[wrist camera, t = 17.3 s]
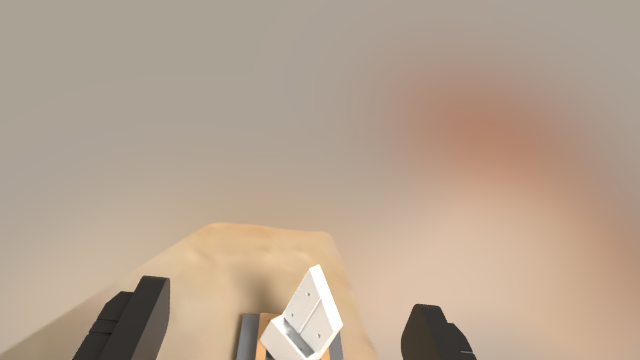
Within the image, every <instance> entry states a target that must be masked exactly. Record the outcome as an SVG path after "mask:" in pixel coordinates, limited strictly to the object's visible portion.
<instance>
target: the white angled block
mask: <svg viewBox="0 0 640 360" xmlns="http://www.w3.org/2000/svg"><path fill="white" fill-rule="evenodd" d="M342 326H343V324H342V321H341V318H340V316H339V313H338V311H337V308H336V306H335V303H334V301H333V298H332V295H331V293H330V290H329V288H328V285H327V283H326V280H325V278H324V275H323V272H322V270H321V267H320V265H316V266H314V267H311V268H309V270H308V271H307V273H306V275H305V276H304V278H303V280H302V281H301V283H300V285H299V287H298V288H297V290H296V292H295V293H294V295H293V297H292V298H291V300H290V302H289V304H288V305H287V307H286V309H285V310H284V312H283V314H282V315H280V316H278V317H276V318H274V319H272V320H271V321H270V322H269V324H268V326H267V328H266V329H265V331H264V333H263V335H262V336H261V338H260V342H261V343H262V344H263V345H264V347H265V348H266V349H267V350H268V352H269V353H270V354H271V355H272V357H273V358H274V359H275V360H320V358H321V357H322V355H323V354H324V352H325V351H326V349H327V348H328V346H329V345H330V343H331V342H332V341H333V339H334V338H335V336H336V335H337V333H338V332H339V330H340V329H341V327H342Z"/></svg>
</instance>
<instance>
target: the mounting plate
mask: <svg viewBox="0 0 640 360" xmlns="http://www.w3.org/2000/svg"><path fill="white" fill-rule="evenodd" d="M280 315H282V314H273V313H262V312H261V313H260V315H254V314H243V320H242V326H241V333H240V339H239V345H238V352H237V358H236V360H275V359H274V358H273V357H272V355H271V354H270V353H269V352H268V350H267V349H266V348H265V347H264V345H263V344H262V343H261V342H260V338H261V336H262V335H263V333H264V331H265V329H266V328H267V326H268V324H269V322H270V321H271V320H272V319H274V318H276V317H278V316H280ZM320 360H343V353H342V345H341V338H340V330H339V332H338V333H337V335H336V336H335V338H334V339H333V341H332V342H331V343H330V345H329V346H328V348H327V349H326V351H325V352H324V354H323V355H322V357H321V358H320Z"/></svg>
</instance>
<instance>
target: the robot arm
mask: <svg viewBox="0 0 640 360" xmlns="http://www.w3.org/2000/svg"><path fill="white" fill-rule="evenodd" d="M169 313H170V279H169V278H164V277H154V276H143V277H142V278H141V280H140V282H139V284H138V286H137V287H136V289H135V291H134V292H124V291H121V292H120V293H118V294H117V295H116V296H115V297H113V298H112V299H111V300H110V301H109V302H107V303H106V304H105V306H104V308H103V309H102V311H101V313H100V314H99V316H98V318H97V321H96V322H95V323H94V324H93V326H92V328H91V329H90V331H89V334H88V335H87V336H86V338H85V339H84V341H83V343H82V344H81V346H80V347H79V349H78V351H77V352H76V354H75V356H74V357H73V359H72V360H156V357H157V355H158V352H159V349H160V347H161V344H162V341H163V339H164V336H165V333H166V330H167V326H168V321H169ZM401 352H402V357H403V360H477V359H476V357H475V355H474V354H473V351H472V349H471V347H470V345H469V343H468V341H467V339H466V337H465V336H464V335H463V333H462V332H461V331H460V330H459V329H458V328H457V327H456V326H455V325H454V324H453V323H447V320H446V318H445V316H444V314H443V312H442V310H441V308H440V307H439V306H435V305H434V306H433V305H425V304H424V305H423V304H416V305H414V307H413V309H412V312H411V314H410V317H409V319H408V322H407V324H406V326H405V329H404V331H403V334H402V338H401Z"/></svg>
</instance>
